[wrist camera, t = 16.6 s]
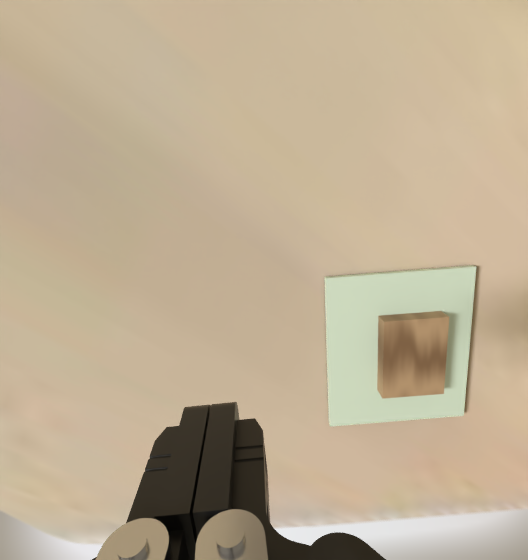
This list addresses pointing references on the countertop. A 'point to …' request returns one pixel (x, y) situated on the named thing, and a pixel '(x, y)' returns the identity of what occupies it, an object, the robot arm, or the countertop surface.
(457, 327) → the mat
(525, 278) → the countertop surface
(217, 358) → the countertop surface
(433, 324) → the brown wooden block
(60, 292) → the countertop surface
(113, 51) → the countertop surface
